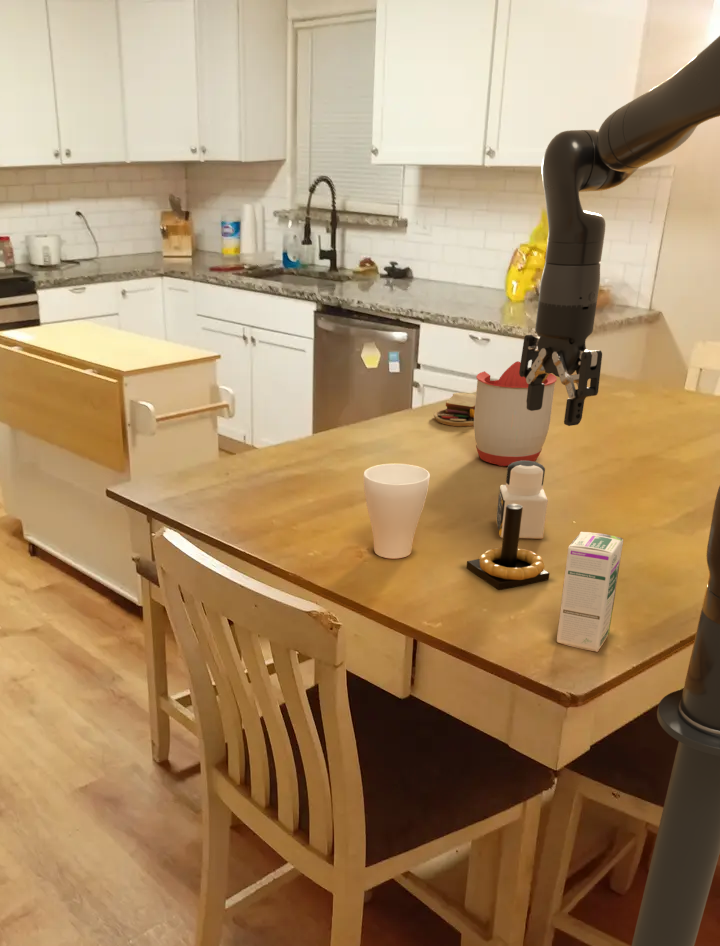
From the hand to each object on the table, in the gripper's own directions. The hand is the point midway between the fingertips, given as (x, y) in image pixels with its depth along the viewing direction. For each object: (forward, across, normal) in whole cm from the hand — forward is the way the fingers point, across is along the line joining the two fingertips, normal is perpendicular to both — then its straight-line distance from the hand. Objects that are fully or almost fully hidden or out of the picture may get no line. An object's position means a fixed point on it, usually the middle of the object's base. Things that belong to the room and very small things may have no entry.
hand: (552, 417), depth 135 cm
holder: (+25, -2, -3) cm, 25 cm away
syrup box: (+25, +19, -6) cm, 32 cm away
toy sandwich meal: (+26, -80, +38) cm, 92 cm away
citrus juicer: (+26, -51, +31) cm, 65 cm away
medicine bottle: (+25, -16, +9) cm, 32 cm away
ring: (+23, -2, -3) cm, 23 cm away
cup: (+25, -18, -15) cm, 34 cm away
